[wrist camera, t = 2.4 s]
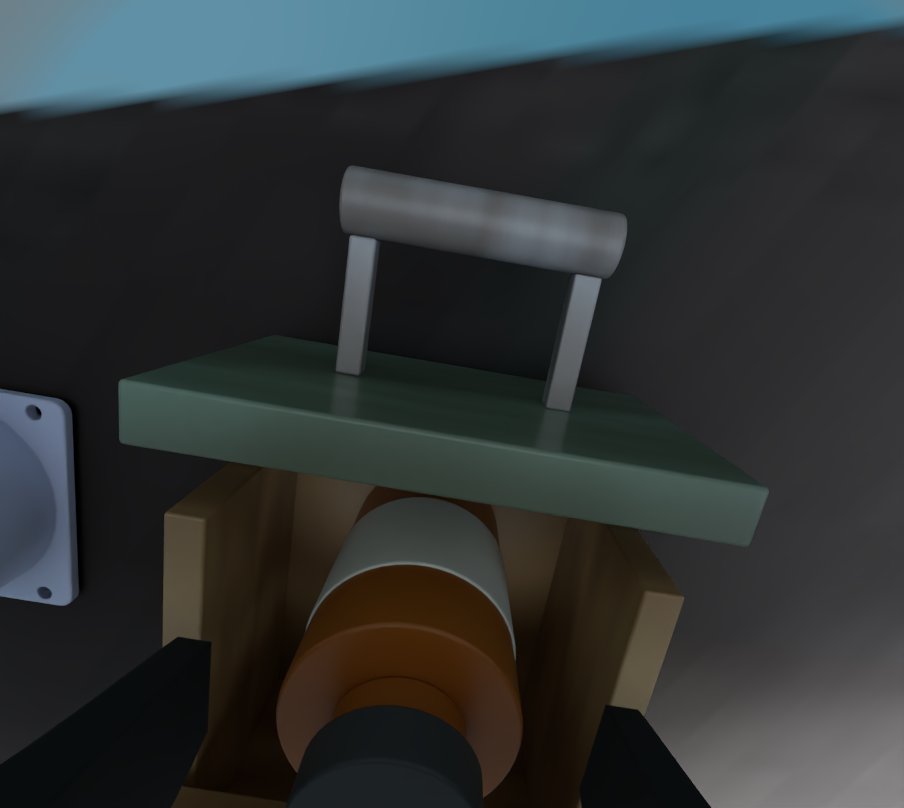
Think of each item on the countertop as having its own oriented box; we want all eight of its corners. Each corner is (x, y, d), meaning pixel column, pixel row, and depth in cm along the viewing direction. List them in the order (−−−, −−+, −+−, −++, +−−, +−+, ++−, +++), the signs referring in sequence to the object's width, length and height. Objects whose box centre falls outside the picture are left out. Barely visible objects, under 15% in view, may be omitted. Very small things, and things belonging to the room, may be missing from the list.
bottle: (348, 582, 16) (218, 923, 7) (364, 454, 14) (232, 689, 6) (484, 604, 16) (507, 966, 7) (511, 478, 14) (575, 741, 6)
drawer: (283, 176, 13) (112, 77, 7) (676, 246, 14) (874, 215, 7) (248, 665, 18) (122, 891, 11) (548, 712, 18) (597, 961, 11)
